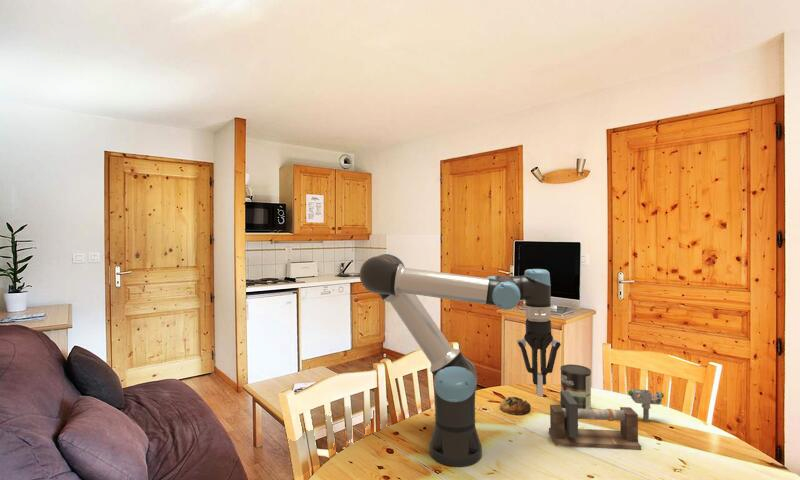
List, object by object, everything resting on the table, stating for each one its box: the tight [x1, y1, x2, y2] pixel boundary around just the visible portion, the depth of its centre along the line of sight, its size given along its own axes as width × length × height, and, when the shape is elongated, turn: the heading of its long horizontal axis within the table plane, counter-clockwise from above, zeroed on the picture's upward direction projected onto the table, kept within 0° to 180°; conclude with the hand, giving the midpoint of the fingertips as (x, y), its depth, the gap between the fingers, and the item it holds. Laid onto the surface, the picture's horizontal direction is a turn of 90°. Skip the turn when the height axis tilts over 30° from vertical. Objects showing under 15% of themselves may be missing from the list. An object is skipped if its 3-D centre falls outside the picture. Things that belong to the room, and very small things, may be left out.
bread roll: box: [499, 396, 532, 415], centre depth 149 cm, size 11×11×5 cm
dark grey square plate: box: [559, 390, 579, 438], centre depth 127 cm, size 2×10×10 cm, turn 173°
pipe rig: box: [548, 404, 642, 451], centre depth 126 cm, size 24×9×10 cm, turn 83°
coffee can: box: [560, 364, 592, 409], centre depth 149 cm, size 10×10×14 cm
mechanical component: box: [628, 388, 665, 423], centre depth 138 cm, size 3×10×10 cm, turn 79°
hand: (539, 394), depth 128 cm, fingers closed
